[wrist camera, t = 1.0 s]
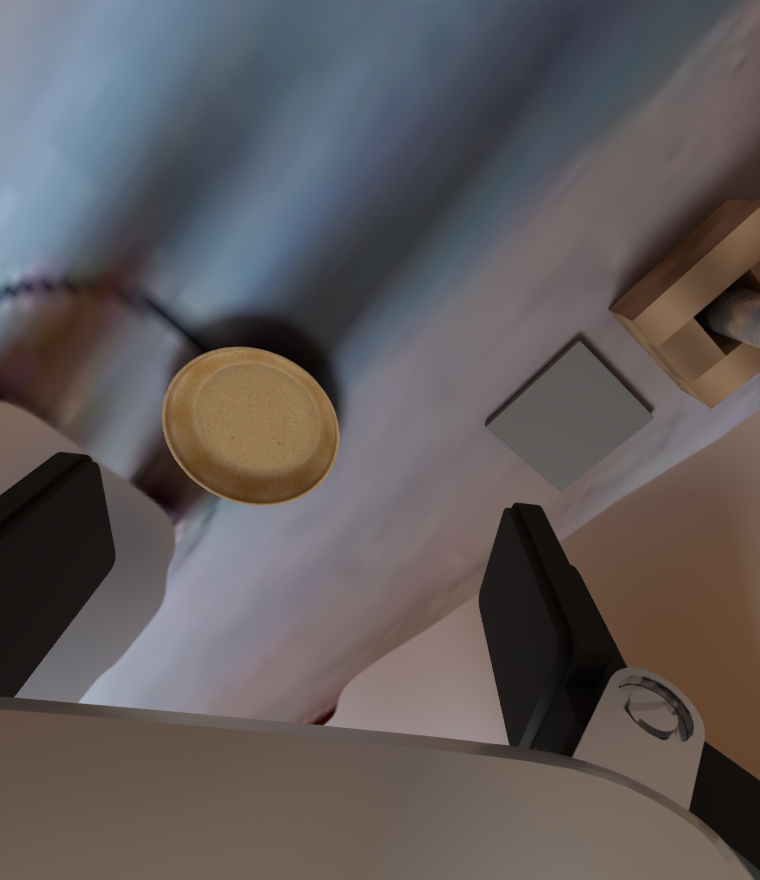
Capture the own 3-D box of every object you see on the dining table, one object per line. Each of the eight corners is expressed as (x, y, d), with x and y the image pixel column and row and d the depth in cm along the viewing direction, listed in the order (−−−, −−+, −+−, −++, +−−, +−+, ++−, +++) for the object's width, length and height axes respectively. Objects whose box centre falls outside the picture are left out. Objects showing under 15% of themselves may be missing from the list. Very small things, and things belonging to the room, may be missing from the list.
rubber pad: (576, 338, 37) (579, 340, 36) (651, 414, 40) (654, 417, 39) (484, 424, 40) (486, 426, 40) (558, 488, 43) (560, 492, 43)
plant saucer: (374, 398, 40) (373, 410, 37) (293, 515, 45) (288, 532, 43) (216, 302, 36) (204, 309, 34) (150, 442, 42) (136, 455, 40)
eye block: (726, 199, 32) (768, 198, 29) (798, 297, 35) (844, 307, 32) (608, 309, 36) (632, 321, 32) (681, 390, 39) (711, 408, 35)
